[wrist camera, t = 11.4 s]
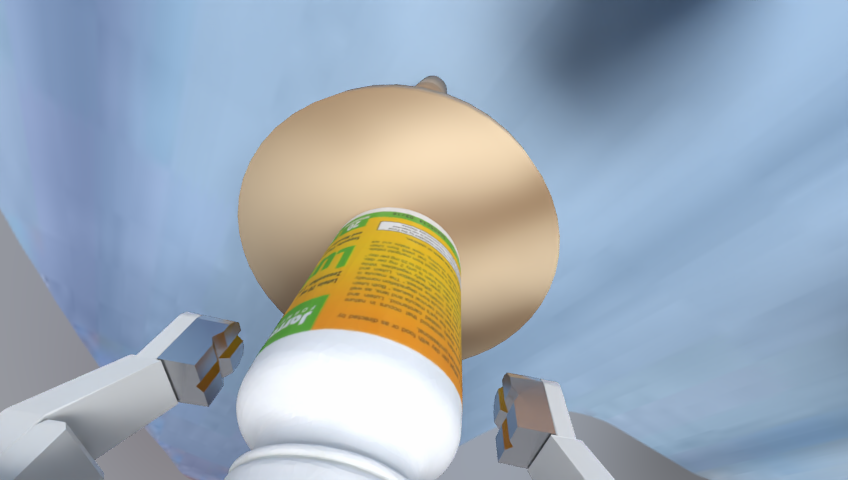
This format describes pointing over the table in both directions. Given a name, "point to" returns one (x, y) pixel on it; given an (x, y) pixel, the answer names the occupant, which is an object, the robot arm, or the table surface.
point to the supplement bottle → (362, 361)
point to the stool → (404, 197)
